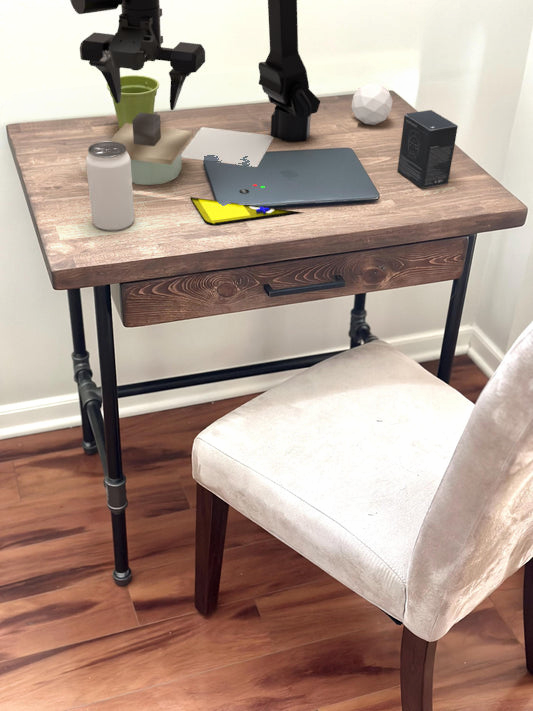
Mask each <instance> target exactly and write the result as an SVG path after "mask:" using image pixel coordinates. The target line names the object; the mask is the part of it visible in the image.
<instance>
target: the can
mask: <svg viewBox="0 0 533 711" xmlns="http://www.w3.org/2000/svg"><path fill="white" fill-rule="evenodd" d="M87 152H88V153H87V156H86V158H85V159H86V160H85V163H86V173H87V175H86V176H87V184H88V193H89V195H88V196H89V202H90V203H89V205H90V214H91V222H92V223H93V224H92V225H94V226H95V227H96V228H97V229H99V230H103V231H105V232H107V231H108V232H116V231H122V230H123V231H124V230H125V229H127V228H130V226H132V225H133V223H134V221H135V208H134V192H133V191H134V190H133V183H132V175H131V161H130V156H129V154H128V153H127V147H126V146H125V145H124V144H122V143H119V142H114V141H109V140H107V141H106V140H105V141H99V142H95V143H92V144H90V146H89V147H88V148H87Z"/></svg>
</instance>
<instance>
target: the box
mask: <svg viewBox="0 0 533 711" xmlns="http://www.w3.org/2000/svg"><path fill="white" fill-rule="evenodd" d="M402 123H403V124H402V131H401V140H400V149H399V155H398V156H399V157H398V162H397V173H399V174H401V175H402V176H403V177H405V178H406V179H408V180H409V181H410V182H412V183H413V184H415V185H416V186H418V187H419V188H420V189H429V188H434V187H439V186H446V185H448V183H449V179H450V173H451V168H452V162H453V156H454V151H455V150H454V149H455V145H456V138H457V133H458V129H459V126H458V125H457V124H456V123H454V122H452V121H450V120H449V119H448V118H445V117H444V116H442V115H440V114H438V113H437V112H436V111H434V110H432V109H429V110H421V111H416V112H409V113H405V114H404V117H403V122H402Z"/></svg>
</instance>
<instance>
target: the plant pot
mask: <svg viewBox="0 0 533 711" xmlns="http://www.w3.org/2000/svg"><path fill="white" fill-rule="evenodd" d="M120 81H121V101H120V102H119V103H116V102H115V100H114V97H113V95H112V93H111V90H110V88H109V86H108V84H107V83H106V89H107V90H108V91H109V93H110V97H111V98H112V101H113V102H112V103H113V106H114V110H115V116H116V120H117V124H118V130H120V129H121V128H122V127H123V126H124V124H125V123H128V124H133V123H132V120H133V119H134V118H135V117H136V116H137V115H138V114H139V113H148V114H154V113H155V112H154V111H155V103H156V102H155V101H156V96H157V91H158V89H159V88H160V83H159V81H158V80H157V79H156V78H154V77H151V76H146V75H135V74H133V75H123V76H120Z"/></svg>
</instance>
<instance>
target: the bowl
mask: <svg viewBox="0 0 533 711" xmlns="http://www.w3.org/2000/svg"><path fill="white" fill-rule="evenodd" d="M181 154H182V151H181V152H180V154H179V155H178V156H177V158H176V159H175V160H174V162H173V163H172V164H171V165H169V164H162V163H154V162H146V161H138V160H131V159H130V161H131V175H132V184H135V185H144V186H148V185H149V186H150V185H151V186H154V185H161V184H165V183H168V182H171V181H172V180H175V179H176V178H177V177H178V176H179V174H180V172H181V171H182V168H183V167H182V158H181Z"/></svg>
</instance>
